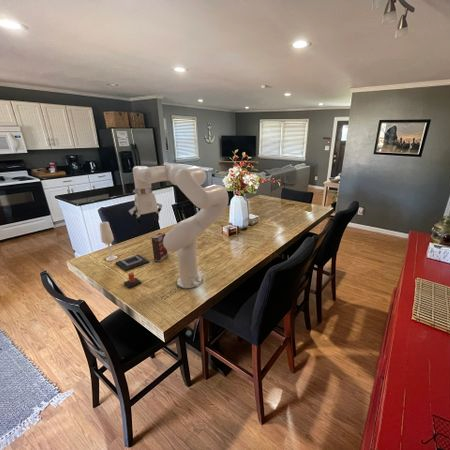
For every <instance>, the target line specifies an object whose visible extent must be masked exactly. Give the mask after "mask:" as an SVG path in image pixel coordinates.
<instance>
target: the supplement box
mask: <svg viewBox="0 0 450 450" xmlns="http://www.w3.org/2000/svg"><path fill="white" fill-rule="evenodd" d="M165 235H166V233H162V232H158V233H157V234H156V235H154V236H153V237H151V244H152V255H153V260H154V262H161V263H162V262H163V260H164V259H166V258H167V257H169V255H168V250H167V249H166V248H165V247H164V244H163V239H164V237H165Z"/></svg>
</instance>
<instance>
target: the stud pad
mask: <svg viewBox="0 0 450 450" xmlns="http://www.w3.org/2000/svg"><path fill="white" fill-rule="evenodd" d="M127 276H128V280H126V281H124V282H123V283H124V285H125V286H126V287H127V288H128V289H132V288H134V287H136V286H139V285H141V284H142V282H141V280H139V279H138V278H137V277H135V273H134V272H133V271H132V272H128V273H127Z"/></svg>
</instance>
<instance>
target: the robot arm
mask: <svg viewBox="0 0 450 450" xmlns="http://www.w3.org/2000/svg"><path fill="white" fill-rule="evenodd" d="M132 175H133V181H134V182H133V183H134V189H133V190H132V193H133V194H134V206H133V207H131V208H130V209H129V210H128V213H129V214H130V215H131V216H132V217H134V218H135V223H136V224H137V225H138V226H141V225H142V220H141V218H140V217H141V215H146V214H152V213H153V217H154V220H155V221H157V222H159V221H160V215H159V214H160V213H161V211H162V208H163V204H161V203H158V202H157V199H156V196H155V195H156V194H155V192H153V187H152V184H155V183H160V182H165V181H166V182H167V181H169V182H170V183H171V184H172V185H174V186H177V188H178V189H179V190H180V191H181V192H182V193H183V194H184V196H185V197H186V198H187V199H188V200H189V201H190V202H191V203H192V204H193V205H194V206H195V207H197V208H199V209H200V210H199V211H198V212H196V213H195V214H194V215H193V216H190V217H188V218H185V219H183V220H181V221H179V222H177V223H176V224H175V225H174V226H173V227H171V229H170V230H169V231H168V232H167V233H165V237H164V239H163V244H164V247H165V248H166V249H167V252H170V253H176V255H177V257H176V258H177V266H178V275H179V278H178V279H177V281H176V284H177V286H178V287H180V288H182V289H192V288H195V287H199V286H200V284H202V276H200V275H199V271H198V270H199V269H198V258H197V257H198V256H197V240H198V237H199V236H201V235H202V234H203V233H204V232H206V231H207V230H208V229H209V228H210V227H211V226H212V225H214V224H215V222H216V221H218V220H219V219H220V218H221V217H222V216H223V215H224V214H225V212H226V210H227V208H228V206H229V193H228V191H227V188H225V186H223V185H219V184H212V185H209V186H204V187H203V186H202V185H203V184H204V183H206V180H207V174H206V171H205V170H204V169H203V168H201V167H198V166H175V165H157V166H156V165H155V166H146V165H135V166H133V168H132Z"/></svg>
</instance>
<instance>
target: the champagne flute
mask: <svg viewBox="0 0 450 450" xmlns="http://www.w3.org/2000/svg"><path fill="white" fill-rule="evenodd" d="M110 225H111V224H110V222H109V221H102V222H99V231H100V241H101V242H102V243H103V244H105V245H107V248H108V253H109V255H108V256H107V257H106V258H105V260H106V261H108V262H109V261H110V262H111V261H114V260H116V259H118V256H117V255H113V252H112V247H111V244H112V243H113V241H114V240H115V238H114V234H113V231H112V229H111V226H110Z"/></svg>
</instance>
